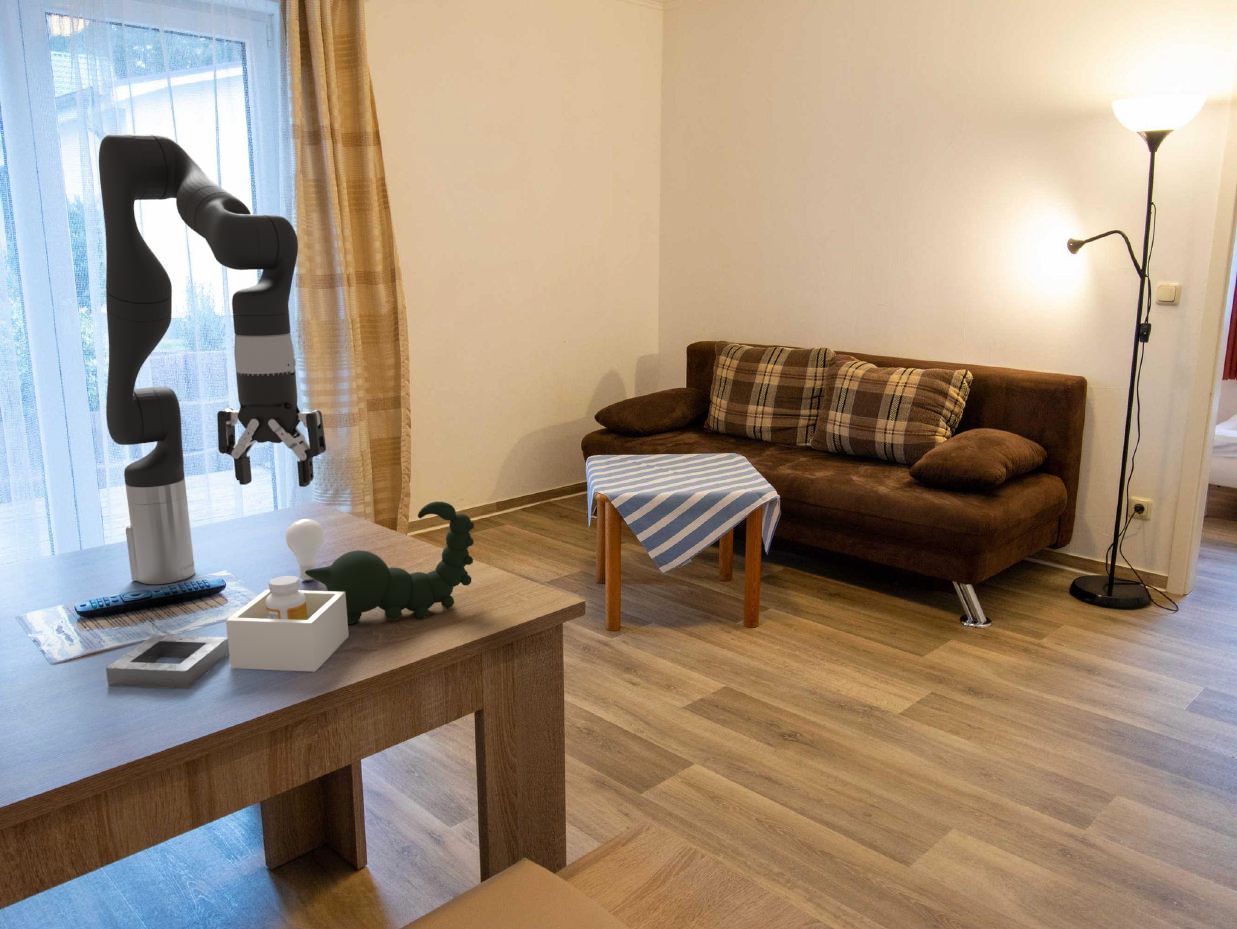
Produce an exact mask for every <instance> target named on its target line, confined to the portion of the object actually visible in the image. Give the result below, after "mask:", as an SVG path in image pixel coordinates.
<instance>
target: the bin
mask: <svg viewBox="0 0 1237 929" xmlns="http://www.w3.org/2000/svg"><path fill="white" fill-rule="evenodd" d="M298 591H301V592H302V593H303V594H304V595H305V598H306V607H307V619H308V620H289V619H267V614H266V598H267V597H268V596H269V595H270V594H272V593H271V592H270V590H269V588H268V589H267V588H266V589H265V590H264V591H262V592H261V593H259V594H258V595H257V596H256V597H254V598H253V599H252V600H250V601H249V602H248V603H247V604H245V605H244V606H243V607H240V609H239V610H238V611H236V612H235V613H234V614H232V615H230V617H228V618H227V619H226V620H225V626H226V635H227V637H228V646H229V655H228V656H229V663H230V669H236V670H237V669H241V670H261V671H263V670H264V671H265V670H266V671H267V670H268V671H269V670H270V671H289V672H292V671H293V672H313V673H314V672H317V671H318V670H319V668H321V666H323V665H324V663H325V662H326V661H327V660H328V659H329V658H330V657H331V656H332V655H333V654H334V653H335V652H336V650H337V649H338V648H339V647H341V645H342V644H343V643H344V642H345V641H346V639H348V638H349V625H348V624H349V623H348V622H347V608H346V594H345V592H338V591H327V590H326V591H325V590H302V589H299V590H298Z"/></svg>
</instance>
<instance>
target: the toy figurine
mask: <svg viewBox="0 0 1237 929" xmlns="http://www.w3.org/2000/svg"><path fill="white" fill-rule="evenodd" d="M427 515H436V516H438V517H439V518H440V519H443V520H444V521H448V522H449V531H448V532H447V534H445V535H446V536H445V543H446V544H445V545H446V546H445V547H444V548H443V550H442V552H441V560H440V561H439V562H438V564H437V565H436V566H435V570H431V571H429V572H427V573H425V572H421V571H419V572H418V571H417V572H411V573H409V572H408V571H407V570H405V569H403V568H400V567H389V566H388V564H386V562H385V561H384V560H383V559H382V558H381V557H380V556H378V555H377V554H375V553H373V552H371V551H367V550H359V549H358V550H357V549H356V550H351V551H348V552H346V553H344V554H341V555H340V556H338V558H336V559H335V560H334V561H333V562H332V564H331V565H328V566H323V567H316V569H310V570H307V571H305V574H306V575H308V576H310V577H311V578H313V580H315V581H317V582H319V583H321V584H323V585H324V586H325V587H326V591H338V592H345V594H346V608H347V622H348V624H350V625H352V624H355V623H357V622H358V621H360V620H361V617H362V613H367V612H370V611H372V610H374V609H376V608H379V609H380V610H382V611H384V614H385V615H384V616H385V617H386V618H387V619H389V620H390V621H395V620H399V619H400V617H401V616H402V615H403V613H402V611H403V610H405V609H407V610H408V611H410V612H414V613H415V616H416V617H417V618H418V619H425V618H426V617H428V616H429V612H430V610H429V609H430V608H432V606H433V605H434V604H436V603H437V604H439V603H441V607H443V608H445V609H449V608H452V607H453V606H454V604H455V599H454V597H453V596H452V594H453V591H454V587H458V586H459V584H461V585H462V586H469V585H470V584H471V583H472V578H473V577H471V576H470V574H469V573H468V571H467V570H466V568H465V567H466V566H471V565H472V564H473V563H474V558H473V557H472V556H470V554H469V550H468V549H469V548H470V547H471V546H473V545H474V543H475V540H474V538H472V536H471V533H470V531H472V530H474V529H475V523H474V522H472V519H471V518H470V516H468V515H467V514H465V513H457V512H456V509H455V507H454V506H453V505H452V504H450V502H449V503H448V502H446V501H433V502H429V503H428V504H425V506H423V507H422V508H421V509H420V510H419V511H418V513H417V517H418V518H419V519H422V518H424V517H425V516H427Z"/></svg>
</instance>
